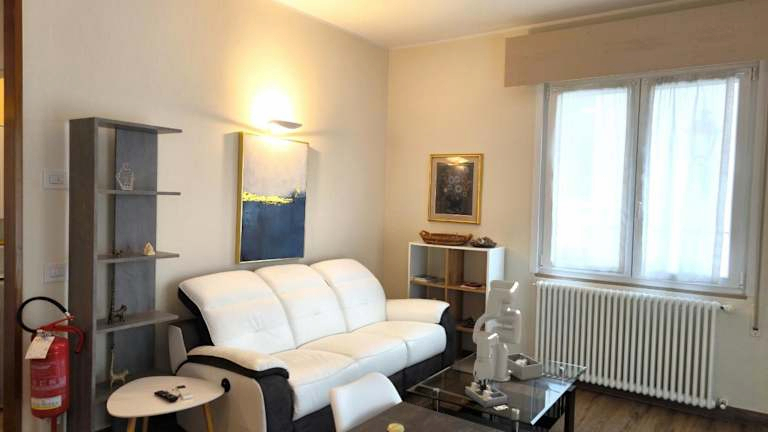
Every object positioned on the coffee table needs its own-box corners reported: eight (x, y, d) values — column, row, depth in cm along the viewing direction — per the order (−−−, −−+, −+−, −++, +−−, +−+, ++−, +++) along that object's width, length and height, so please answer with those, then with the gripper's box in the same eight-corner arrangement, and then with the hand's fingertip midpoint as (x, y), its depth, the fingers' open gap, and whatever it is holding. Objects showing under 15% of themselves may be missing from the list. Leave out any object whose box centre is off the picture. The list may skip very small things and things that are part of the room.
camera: (523, 376, 325) (524, 360, 324) (511, 374, 329) (512, 358, 328) (531, 369, 337) (531, 353, 337) (519, 366, 341) (519, 351, 341)
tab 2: (488, 392, 297) (488, 384, 296) (492, 395, 293) (492, 386, 292) (482, 394, 295) (482, 385, 295) (486, 396, 291) (486, 388, 291)
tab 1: (475, 390, 300) (475, 381, 300) (479, 392, 296) (479, 384, 296) (469, 391, 299) (469, 382, 298) (473, 394, 295) (473, 385, 295)
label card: (504, 405, 284) (504, 404, 284) (508, 408, 281) (508, 407, 281) (493, 407, 281) (493, 407, 281) (497, 410, 278) (497, 409, 278)
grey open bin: (519, 364, 346) (520, 352, 345) (542, 376, 326) (542, 363, 325) (500, 367, 340) (500, 355, 340) (522, 380, 320) (522, 367, 319)
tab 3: (487, 398, 289) (487, 389, 289) (491, 401, 285) (492, 392, 285) (481, 399, 288) (481, 390, 287) (485, 402, 284) (485, 393, 284)
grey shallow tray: (487, 389, 306) (487, 382, 306) (508, 402, 287) (508, 396, 287) (465, 393, 300) (465, 386, 300) (484, 407, 282) (485, 400, 281)
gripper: (491, 354, 298) (490, 386, 299) (468, 357, 292) (467, 390, 293) (499, 358, 291) (498, 391, 292) (475, 362, 285) (475, 395, 286)
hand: (483, 390), depth 293 cm, fingers closed
